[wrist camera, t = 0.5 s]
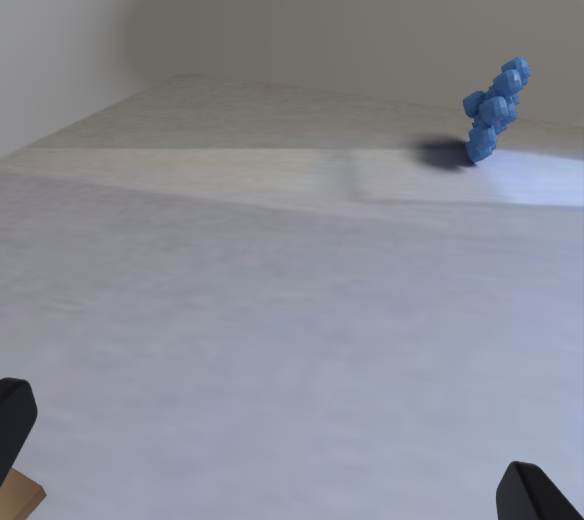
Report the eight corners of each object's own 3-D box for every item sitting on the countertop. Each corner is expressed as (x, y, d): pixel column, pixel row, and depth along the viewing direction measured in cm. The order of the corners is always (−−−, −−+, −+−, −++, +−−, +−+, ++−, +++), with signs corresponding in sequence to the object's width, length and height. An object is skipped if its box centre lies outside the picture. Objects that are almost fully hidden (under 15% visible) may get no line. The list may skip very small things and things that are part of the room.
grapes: (457, 130, 64) (493, 40, 57) (505, 147, 62) (549, 55, 54) (432, 158, 56) (470, 58, 48) (486, 179, 54) (534, 76, 46)
